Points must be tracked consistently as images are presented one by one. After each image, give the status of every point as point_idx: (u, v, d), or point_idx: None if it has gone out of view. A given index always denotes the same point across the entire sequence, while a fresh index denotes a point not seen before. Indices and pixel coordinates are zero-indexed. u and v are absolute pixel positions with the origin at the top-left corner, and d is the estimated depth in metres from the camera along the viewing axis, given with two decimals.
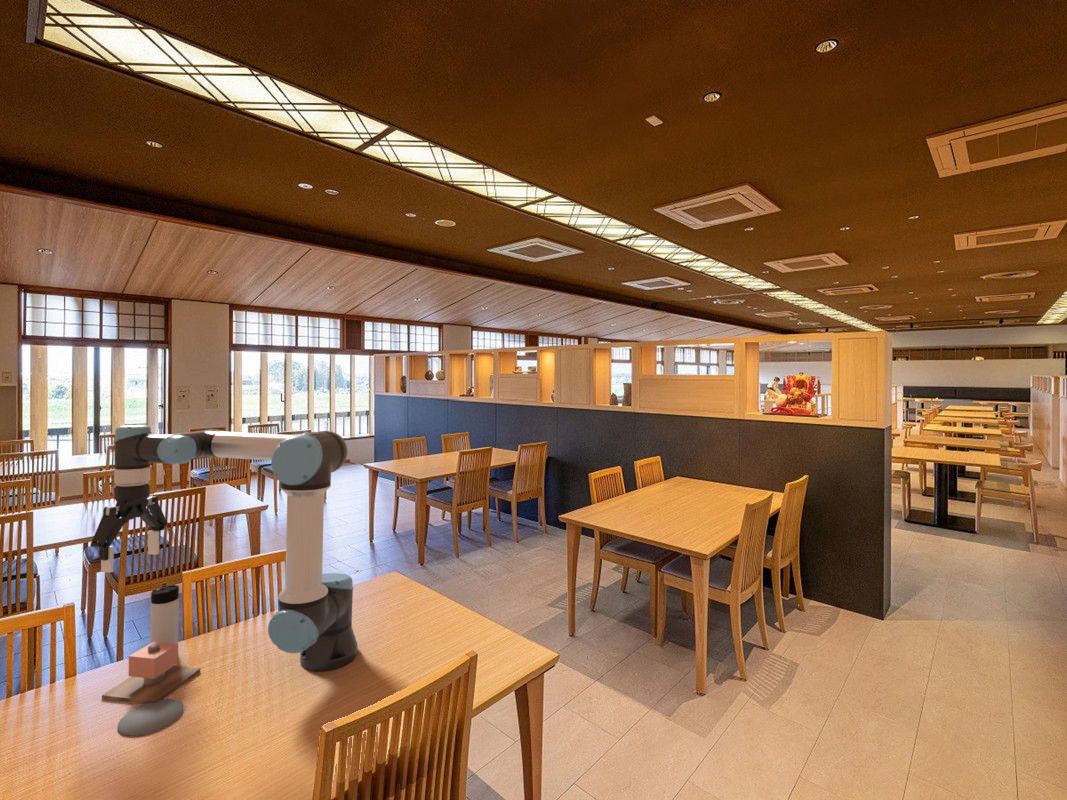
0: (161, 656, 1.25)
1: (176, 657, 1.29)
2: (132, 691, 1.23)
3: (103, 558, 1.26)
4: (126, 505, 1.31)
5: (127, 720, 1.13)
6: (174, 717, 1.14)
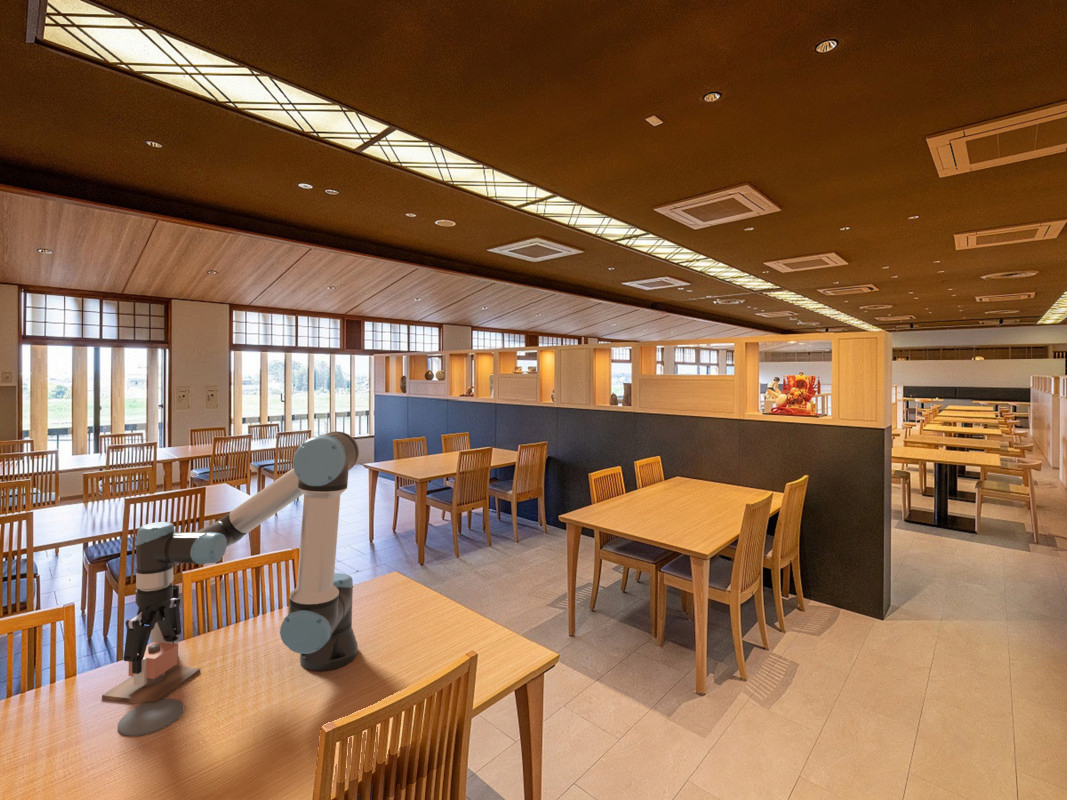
0: (161, 656, 1.25)
1: (176, 657, 1.29)
2: (132, 691, 1.23)
3: (136, 672, 1.21)
4: (148, 611, 1.23)
5: (127, 720, 1.13)
6: (174, 717, 1.14)
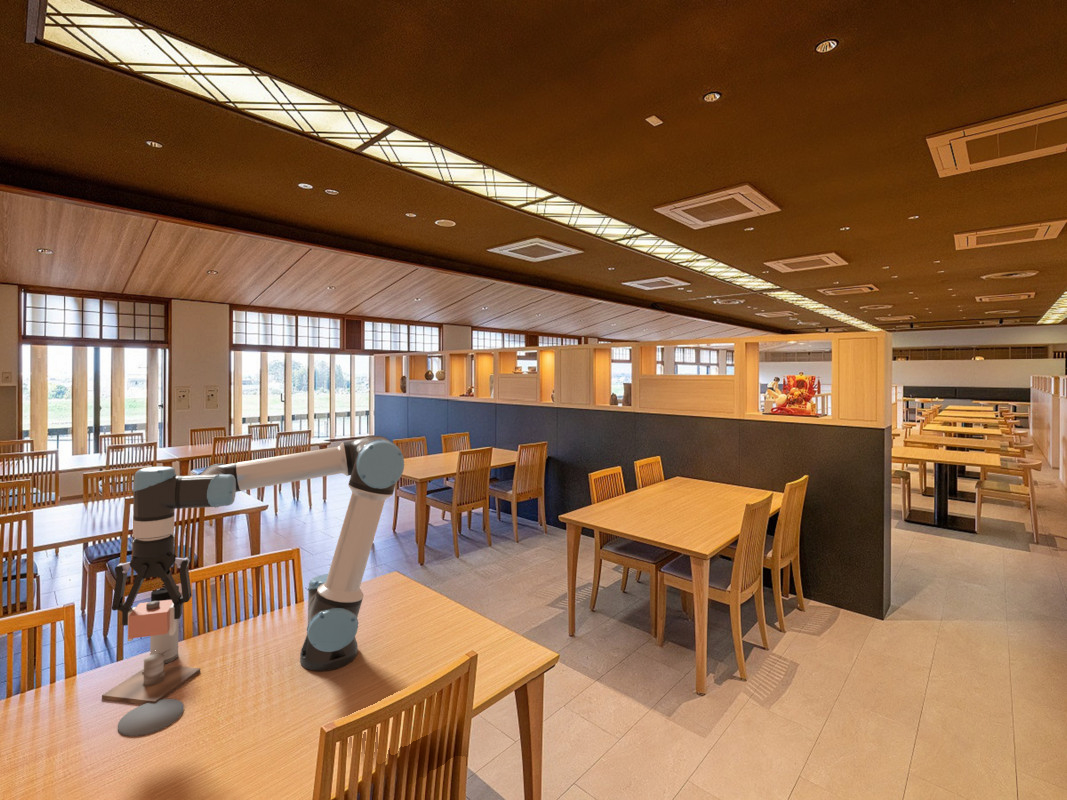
0: (139, 617, 1.11)
1: (164, 626, 1.13)
2: (132, 691, 1.23)
3: None
4: (136, 561, 1.12)
5: (127, 720, 1.13)
6: (174, 717, 1.14)
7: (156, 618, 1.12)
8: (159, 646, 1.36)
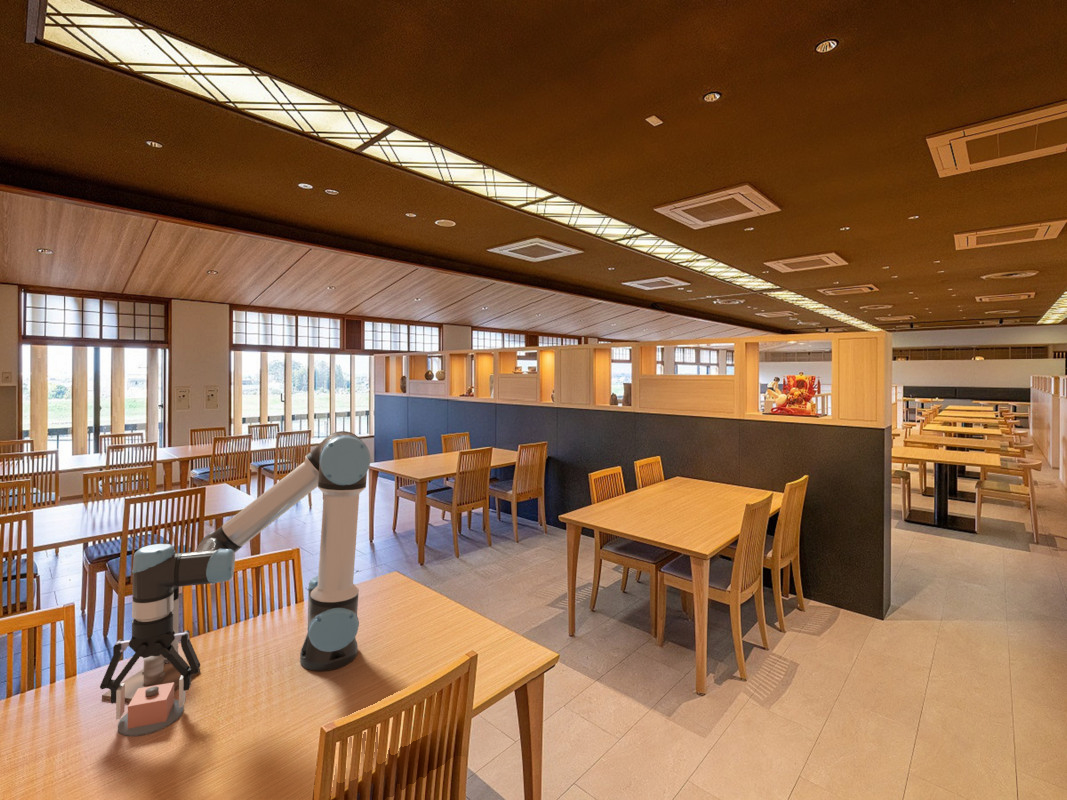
0: (139, 706, 1.11)
1: (164, 714, 1.13)
2: (132, 691, 1.23)
3: None
4: (136, 641, 1.12)
5: (127, 720, 1.13)
6: (174, 717, 1.14)
7: (155, 706, 1.12)
8: None
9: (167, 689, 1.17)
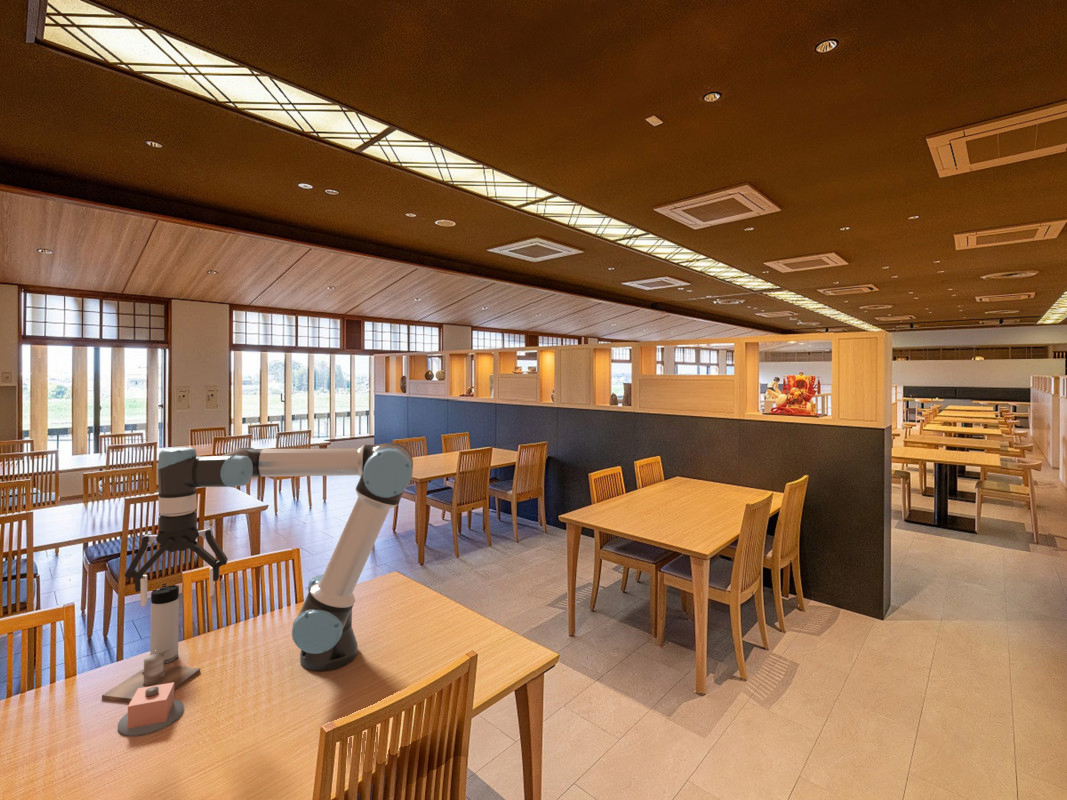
0: (139, 706, 1.11)
1: (164, 714, 1.13)
2: (132, 691, 1.23)
3: None
4: (163, 536, 1.19)
5: (127, 720, 1.13)
6: (174, 717, 1.14)
7: (155, 706, 1.12)
8: (159, 646, 1.36)
9: (167, 689, 1.17)
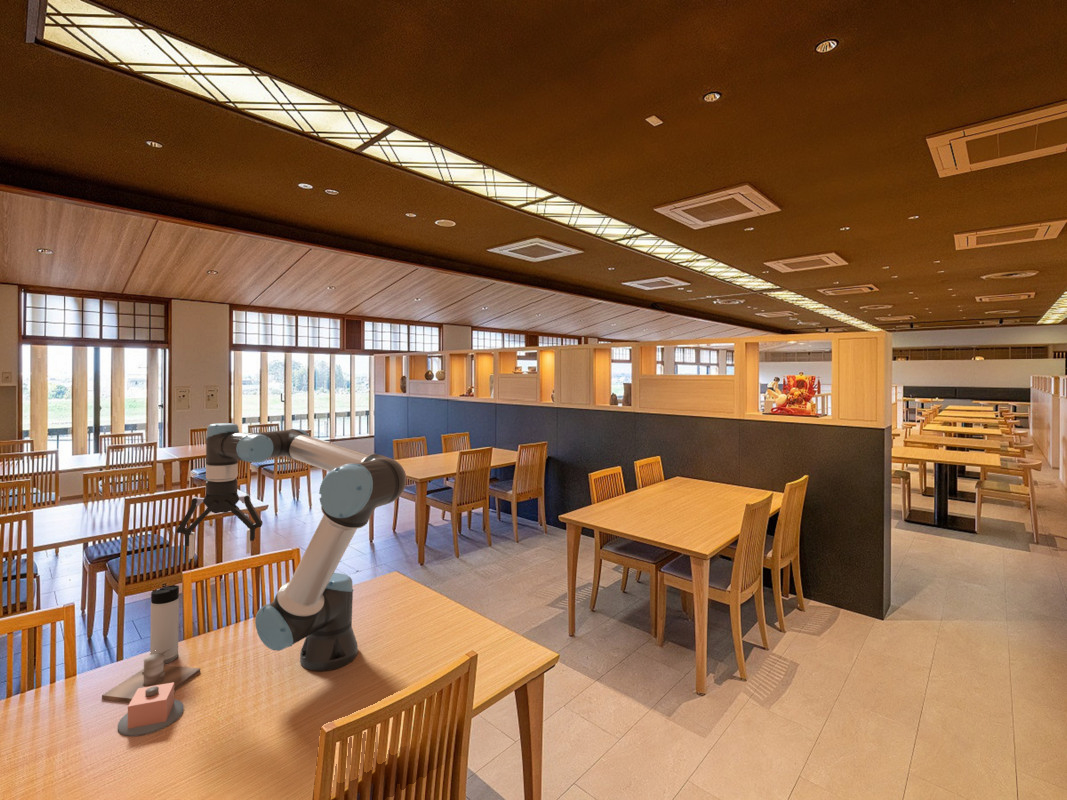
0: (139, 706, 1.11)
1: (164, 714, 1.13)
2: (132, 691, 1.23)
3: (185, 543, 1.36)
4: (209, 499, 1.38)
5: (127, 720, 1.13)
6: (174, 717, 1.14)
7: (155, 706, 1.12)
8: (159, 646, 1.36)
9: (167, 689, 1.17)
